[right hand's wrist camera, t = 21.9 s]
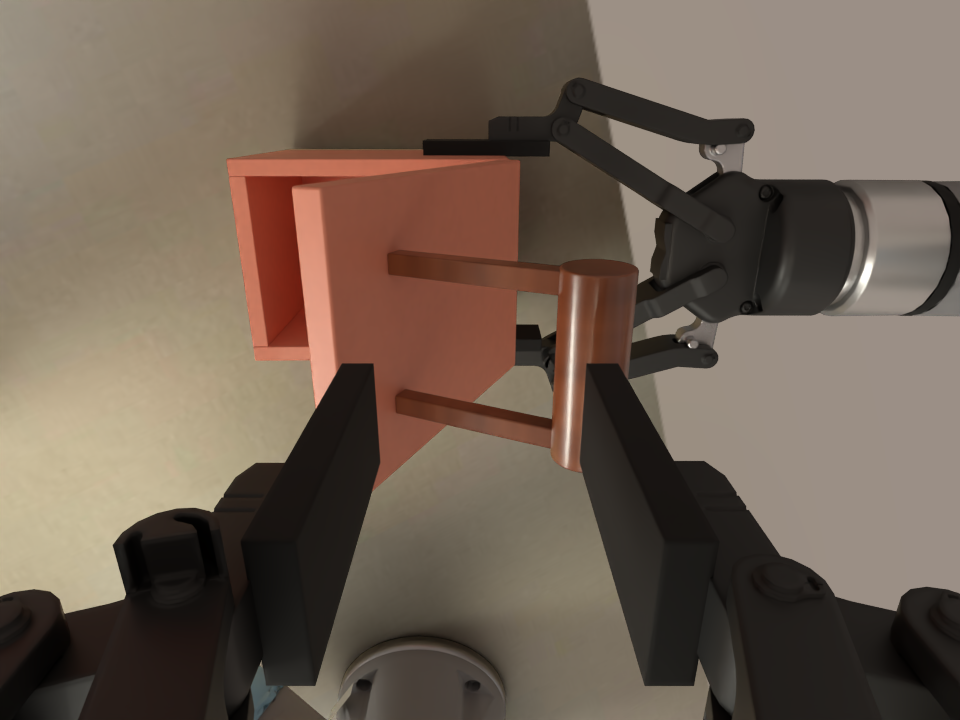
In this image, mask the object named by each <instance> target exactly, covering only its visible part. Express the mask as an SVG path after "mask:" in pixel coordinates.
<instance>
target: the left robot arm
mask: <svg viewBox="0 0 960 720" xmlns="http://www.w3.org/2000/svg"><path fill="white" fill-rule="evenodd" d="M582 110H586V111H589V112H592V113H595V114H598V115H601V116H604V117H608V118H611V119H614V120H617V121H620V122H623V123H626V124H629V125H632V126H635V127H638V128H641V129H644V130H647V131H650V132H653V133H656V134H660V135H663V136H666V137H669V138H672V139H675V140H678V141H682V142H686V143H694V144H699V152H700V155H701V156H702V157H703V158H705V159H708V160H712V161H713V162H714V163H715V164H716V166H717V172H716V173H714V174H713V175H711V176H710V177H708V178H707V179H705V180H704V181H702V182H701V183H699V184H698V185H697V186H695V187H694V188H692V189H691V190H689V191H688V192H686V193H685V192H684V191H682V190H681V189H679V188H678V187H676V186H674V185H672V184H671V183H669V182H667V181H666V180H664V179H662V178H661V177H659V176H658V175H656V174H655V173H653V172H652V171H650V170H649V169H647V168H645V167H644V166H642V165H641V164H639V163H638V162H636V161H635V160H633V159H632V158H630V157H629V156H627V155H625V154H624V153H622V152H621V151H619V150H618V149H616V148H615V147H613V146H612V145H610V144H608V143H607V142H605V141H604V140H602V139H601V138H599V137H598V136H596V135H595V134H593V133H591V132H590V131H588V130H587V129H585V128H584V127H582V126H581V125H579V124H578V123H577V122H578V120H579V117H580V115H581V112H582ZM754 131H755V130H754V124H753V123H752V121H750V120H749V119H744V118H740V119H713V120H707V119H704V118H701V117H698V116H695V115H692V114H689V113H686V112H683V111H680V110H677V109H674V108H671V107H668V106H665V105H662V104H659V103H656V102H653V101H650V100H647V99H644V98H641V97H638V96H635V95H632V94H629V93H626V92H623V91H620V90H617V89H614V88H611V87H608V86H605V85H602V84H599V83H596V82H593V81H590V80H587V79H584V78H575V79H573V80H571V81H569V82H567V83H566V84H565V85H564V86H563V88H562V90H561V94H560V97H559V100H558V102H557V105H556V107H555V109H554V111H553V112H552V113H551V114H549V115H547V116H544V117H496V118H494V119H492V120H489V139H427V140H423V155H442V156H549V153H550V142H558V143H559V144H561V145H562V146H564V147H565V148H567V149H569V150H570V151H572V152H573V153H575V154H576V155H578V156H580V157H581V158H583V159H584V160H586V161H587V162H589V163H591V164H592V165H594V166H595V167H597V168H598V169H600V170H602V171H603V172H605V173H606V174H608V175H609V176H611V177H613V178H614V179H616V180H617V181H619V182H620V183H622V184H624V185H625V186H627V187H628V188H630V189H631V190H633V191H635V192H636V193H638V194H639V195H641V196H642V197H644V198H645V199H647V200H648V201H650V202H651V203H653V204H654V205H656V206H658V207H659V208H661V209H662V210H663V211H662V213H661V215H660V217H659V218H656V221H655V231H654V232H655V238H656V248H655V251H654V253H653V256H652V259H651V268H650V272H652V273H653V276H652V277H651V278H649V279H647V280H645V281H643V282H641V283H640V284H638V285H637V294H636V304H635V314H634V324H633V328H634V327H636V326H638V325H640V324H642V323H644V322H646V321H648V320H650V319H652V318H660V317H663V316H665V315H667V314H669V313H671V312H673V311H675V310H677V309H679V308H680V307H682V306H684V307H685V308H686V309H688V310H689V311H690V312H691V313H693V314H694V315H695V316H697V317H696V320H695V321H694V323H692V324H691V325H689V326H684V327H681V328H679V329H678V330H677V332H676V334H675V335H674V334H672V335H671V334H670V335H661V336H657V337H653V338H649V339H645V340H641V341H637V342H634V343H632V344H631V354H630V364H629V374H628V379H632V378H636V377H640V376H644V375H647V374H651V373H655V372H659V371H663V370H667V369H671V368H674V367H692V368H711V367H713V366H714V365H715V364H716V363H717V361H718V354H717V353H716V351H715V350H714V349H713V344H714V339H715V335H716V330H717V326H718V323H719V322H722V321H724V320H726V319H728V318H730V317H733V316H737V315H815V314H818V313H822V314H823V315H828V316H871V315H900V316H912V315H921V316H960V181H942V182H932V181H920V180H840V181H837V182H835V183H833V182H831V181H828V180H759V179H753V178H751V177H749V176H747V175H746V174H744V173H742V164H743V153H744V143H745V142H747V141H749V140H750V139H751V138H752V136H753V134H754ZM556 333H557V331H555V332H553V333H551V334H549V335H548V336H546V337H544V338H543V339H542V338H541V334H540V330H539V326H538V325H516V348H515V365H514V366H539V367H541V368H543V369H544V370H545V371H546V373H547V376H548V379H549V382H550V385H551V388H552V391H554V372H555V352H556ZM251 692H252V697H253V703H254V720H326V719H325V718H324V717H323V716H321V715H320V714H319V713H318V712H317V711H316V710H314V709H313V708H312V707H311V706H310V705H309V704H307V703H306V702H305V701H304V700H303V699H301V698H300V697H299V696H298V695H297V694H296V693H294V692H293V691H292V690H291V689H290V688H288V687H287V686H266V682H265V676H264V671H263V668H262V667H261V666H259V667H258V670H257V672H256V675H255V677H254V680H253V682H252V685H251ZM336 713H337V720H505V716H506V705H505V691H504V687H503V683H502V681H501V679H500V677H499V675H498V673H497V672H496V670H495V669H494V668H493V667H492V665H491V664H490V663H489V662H488V661H487V660H486V659H484V658H483V657H482V656H481V655H479V654H478V653H476V652H475V651H473V650H471V649H469V648H468V647H465V646H463V645H461V644H458V643H456V642H453V641H449V640H445V639H440V638H434V637H422V636H417V637H404V638H398V639H393V640H390V641H386V642H383V643H381V644H378V645H376V646H374V647H372V648H370V649H369V650H367V651H365V652H364V653H363V654H361V655H360V656H359V657H358V658H357V659H355V661H354V662H353V663H352V664H351V665H350V667H349V668H348V669H347V671H346V673H345V675H344V677H343V680H342V684H341V688H340V691H339V696H338V700H337V704H336V705H335V706H334V708H333V709H332V710H331V714H330V718H329V720H331V719H332V718H333V716H334V715H335V714H336Z"/></svg>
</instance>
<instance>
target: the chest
mask: <svg viewBox="0 0 960 720" xmlns="http://www.w3.org/2000/svg"><path fill="white" fill-rule="evenodd" d="M494 160H509V159H508V158H507V157H506V156H442V155H423V149H287V150H282V151H276V152H269V153H262V154H256V155H249V156H242V157H236V158H229V159H227V167H228V174H229V181H230V188H231V195H232V202H233V209H234V216H235V223H236V230H237V237H238V244H239V250H240V257H241V264H242V271H243V278H244V285H245V292H246V299H247V306H248V313H249V320H250V327H251V333H252V340H253V346H254V354H255V360H310V352H309V343H308V334H307V324H306V315H305V306H304V297H303V288H302V278H301V269H300V260H299V251H298V242H297V232H296V223H295V214H294V205H293V196H292V187H293V186H296V185H304V184H312V183H320V182H328V181H336V180H343V179H351V178H359V177H367V176H375V175H383V174H391V173H399V172H407V171H415V170H423V169H431V168H438V167H446V166H454V165H462V164H470V163H478V162H486V161H494Z"/></svg>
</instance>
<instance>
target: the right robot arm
mask: <svg viewBox="0 0 960 720" xmlns="http://www.w3.org/2000/svg"><path fill="white" fill-rule="evenodd" d="M379 466H380V448H379V434H378V419H377V405H376V391H375V376H374V363H342V364H341V366H340V368H339V369H338V371H337V373H336V375H335V376H334V378H333V380H332V382H331V383H330V385H329V387H328V389H327V390H326V392H325V394H324V396H323V397H322V399H321V401H320V403H319V404H318V406H317V408H316V410H315V411H314V413H313V415H312V417H311V418H310V420H309V422H308V424H307V425H306V427H305V429H304V431H303V432H302V434H301V436H300V438H299V439H298V441H297V443H296V445H295V446H294V448H293V450H292V452H291V453H290V455H289V457H288V459H287V460H286V462H285V463H255V464H254V465H252V466H251V467H250V468H248V469H247V470H245V471H244V472H243V473H241V474H240V475H238V476H237V477H235V479H234V480H233V482H232V483H231V485H230V486H229V488H228V489H227V491H226V492H225V493H224V498H221V499H220V501H219V502H218V504H217V505H216V507H215V508H214V512H210V511H206V510H202V509H198V508H180V509H173V510H169V511H165V512H161V513H157V514H154V515H152V516H150V517H148V518H145V519H143V520H141V521H138V522H137V523H135V524H134V525H133V526H131V527H130V528H128V529H127V530H126V531H124V532H123V533H122V534H121V535H120V536H119V538H118V539H117V540H116V542H115V543H114V544H113V548H114V551H115V555H116V559H117V562H118V566H119V570H120V573H121V577H122V580H123V584H124V588H125V591H126V596H125V599H124V600H121V601H117V602H114V603H110V604H106V605H102V606H97V607H93V608H88V609H84V610H79V611H75V612H70V613H66V614H64V612H63V609H62V605H61V602H60V599H59V598H57V597H56V596H55V595H54V594H52V593H51V592H49V591H42V590H35V589H33V590H26V591H19V592H12V593H9V594H6V595H3V596H1V597H0V720H254V703H253V697H252V692H251V685H252V682H253V680H254V677H255V675H256V672H257V670H258V667H259V665H260V662H261V660H262V665H263V671H264V676H265V682H266V686H315V685H316V682H317V678H318V675H319V671H320V668H321V664H322V661H323V658H324V654H325V651H326V647H327V644H328V640H329V637H330V634H331V630H332V627H333V623H334V620H335V616H336V613H337V610H338V606H339V603H340V599H341V596H342V592H343V589H344V586H345V582H346V579H347V575H348V572H349V568H350V565H351V562H352V558H353V555H354V551H355V548H356V545H357V541H358V538H359V534H360V531H361V527H362V524H363V521H364V517H365V514H366V510H367V507H368V503H369V500H370V497H371V493H372V490H373V486H374V483H375V479H376V476H377V473H378V469H379ZM580 466H581V469H582V473H583V476H584V479H585V483H586V486H587V490H588V493H589V497H590V500H591V503H592V507H593V510H594V514H595V517H596V521H597V524H598V527H599V531H600V534H601V538H602V541H603V545H604V548H605V551H606V555H607V558H608V562H609V565H610V568H611V572H612V575H613V579H614V582H615V586H616V589H617V592H618V596H619V599H620V603H621V606H622V610H623V613H624V616H625V620H626V623H627V627H628V630H629V634H630V637H631V640H632V644H633V647H634V651H635V654H636V658H637V661H638V664H639V668H640V671H641V675H642V678H643V682H644V685H645V686H694V682H695V676H696V671H697V665H698V660H699V659H700V662H701V664H702V667H703V669H704V672H705V674H706V677H707V679H708V682H709V684H710V686H709V692H708V697H707V702H706V707H705V713H704V718H703V720H960V594H959V593H956V592H953V591H950V590H946V589H939V588H931V587H922V588H915V589H910V590H909V591H908V592H907V593H905V594H904V595H903V596H902V597H901V599H900V603H899V605H898V608H897V612H896V611H892V610H887V609H883V608H879V607H874V606H870V605H865V604H861V603H856V602H852V601H848V600H845V599H841V598H838V597H835V595H834V593H833V592H832V590H831V589H830V587H829V586H828V584H827V583H826V581H825V580H824V579H823V578H821V577H820V576H819V575H818V574H817V573H815V572H814V571H813V570H812V569H810V568H808V567H806V566H804V565H802V564H800V563H798V562H796V561H794V560H792V559H789V558H785V557H781V556H780V555H779V553H778V552H777V550H776V549H775V547H774V546H773V545H772V543H771V542H770V540H769V539H768V537H767V536H766V534H765V533H764V532H763V530H762V529H761V527H760V526H759V524H758V523H757V521H756V520H755V519H754V517H753V516H752V514H751V513H750V511H749V510H746V505H745V504H744V503H743V501H742V500H741V498H740V497H739V496H737V494H736V491H735V490H734V488H733V487H732V485H731V484H730V482H729V481H728V480H727V478H726V477H725V475H723V474H722V473H720V472H719V471H718V470H716V469H715V468H713V467H712V466H710V465H709V464H708V463H706V462H705V461H674V460H673V459H672V457H671V455H670V453H669V452H668V450H667V448H666V446H665V445H664V443H663V441H662V439H661V438H660V436H659V434H658V432H657V431H656V429H655V427H654V425H653V424H652V422H651V420H650V418H649V417H648V415H647V413H646V411H645V410H644V408H643V406H642V404H641V403H640V401H639V399H638V397H637V396H636V394H635V392H634V390H633V389H632V387H631V385H630V383H629V382H628V380H627V378H626V376H625V375H624V373H623V371H622V369H621V368H620V366H619V364H618V363H586V376H585V391H584V405H583V419H582V434H581V448H580Z"/></svg>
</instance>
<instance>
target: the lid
mask: <svg viewBox="0 0 960 720" xmlns="http://www.w3.org/2000/svg"><path fill="white" fill-rule="evenodd" d="M519 188H520V161H519V160H494V161H486V162H478V163H470V164H462V165H454V166H446V167H438V168H431V169H423V170H415V171H407V172H399V173H391V174H383V175H375V176H367V177H359V178H351V179H343V180H336V181H328V182H320V183H312V184H304V185H296V186H293V187H292V196H293V205H294V214H295V223H296V232H297V242H298V251H299V260H300V269H301V278H302V288H303V297H304V306H305V315H306V324H307V334H308V343H309V352H310V361H311V370H312V380H313V389H314V398H315V407H316V408H317V406H318V404H319V403H320V401H321V399H322V397H323V396H324V394H325V392H326V390H327V389H328V387H329V385H330V383H331V382H332V380H333V378H334V376H335V375H336V373H337V371H338V369H339V368H340V366H341V364H342V363H374V376H375V391H376V405H377V419H378V434H379V448H380V466H379V469H378V473H377V476H376V479H375V483H374V486H373V490H374V489H375V488H377V487H378V486H379V485H380V484H381V483H382V482H383V481H384V480H386V479H387V478H388V477H389V476H390V475H391V474H392V473H393V472H395V471H396V470H397V469H398V468H399V467H400V466H401V465H402V464H404V463H405V462H406V461H407V460H408V459H409V458H410V457H412V456H413V455H414V454H415V453H416V452H417V451H418V450H419V449H421V448H422V447H423V446H424V445H425V444H426V443H427V442H428V441H430V440H431V439H432V438H433V437H434V436H435V435H436V434H437V433H439V432H440V431H441V430H442V429H443V428H444V427H445V426H446V425H450V426H454V427H459V428H463V429H467V430H472V431H476V432H481V433H485V434H489V435H494V436H498V437H503V438H507V439H511V440H516V441H520V442H524V443H529V444H533V445H538V446H542V447H546V448H551V450H550V453H551V456H552V458H553V460H554V461H555V462H556V463H557V464H559V465H560V466H562V467H564V468H566V469H569V470H572V471H575V472H581V473H582V469H581V466H580V448H581V434H582V419H583V405H584V391H585V376H586V363H618V364H619V366H620V368H621V369H622V371H623V373H624V375H625V376H626V378H627V380H628V374H629V364H630V354H631V344H632V334H633V324H634V314H635V304H636V294H637V284H638V274H639V270H638V268H637V267H636V266H634V265H631V264H628V263H625V262H620V261H613V260H603V259H582V260H573V261H569V262H566V263H563V264H562V265H561V266H556V265H546V264H536V263H526V262H518V228H519ZM517 290H518V291H527V292H535V293H543V294H551V295H558V313H557V333H556V352H555V372H554V391H553V411H552V419H548V418H543V417H539V416H534V415H529V414H524V413H519V412H514V411H510V410H505V409H500V408H495V407H490V406H486V405H481V404H476V403H472V402H473V401H475V400H476V399H477V398H478V397H479V396H480V395H481V394H482V393H484V392H485V391H486V390H487V389H488V388H489V387H490V386H492V385H493V384H494V383H495V382H496V381H497V380H498V379H499V378H501V377H502V376H503V375H504V374H505V373H506V372H507V371H508V370H510V369H511V368H512V367H513V366H514V365H515V348H516V308H517ZM373 490H372V491H373Z"/></svg>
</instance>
